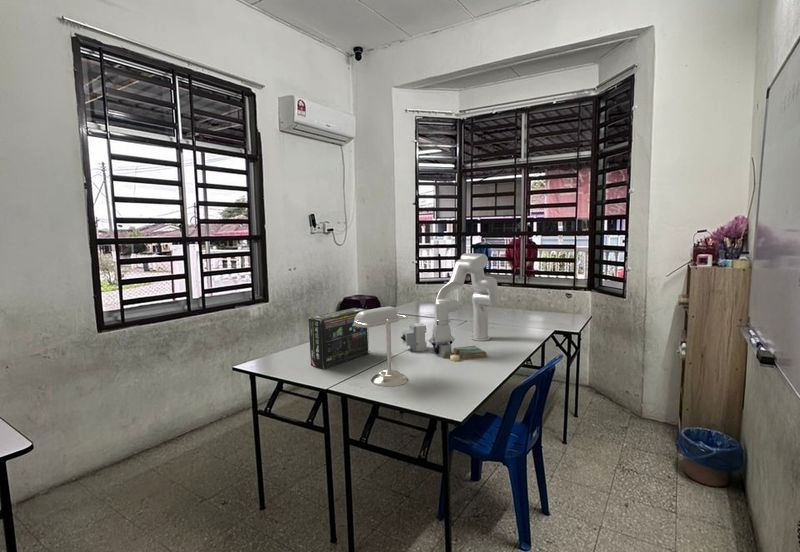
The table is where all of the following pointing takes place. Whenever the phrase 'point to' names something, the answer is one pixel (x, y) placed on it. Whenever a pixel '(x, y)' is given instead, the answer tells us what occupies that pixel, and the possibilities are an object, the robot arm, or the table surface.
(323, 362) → the router box
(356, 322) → the lamp
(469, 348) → the green board with frame
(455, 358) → the cream dome
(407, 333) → the circuit breaker
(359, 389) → the table surface
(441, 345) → the block
